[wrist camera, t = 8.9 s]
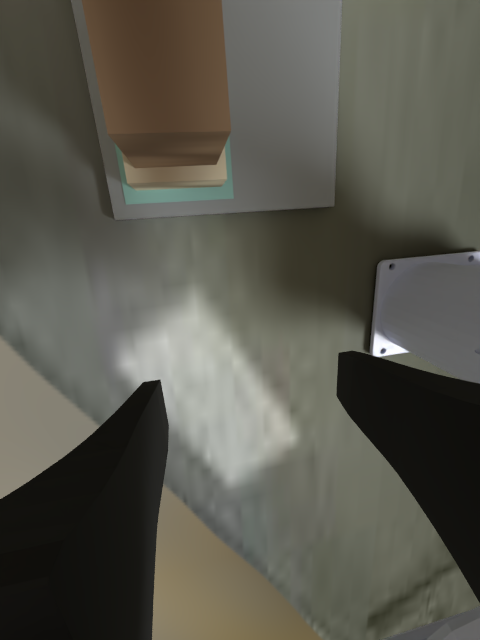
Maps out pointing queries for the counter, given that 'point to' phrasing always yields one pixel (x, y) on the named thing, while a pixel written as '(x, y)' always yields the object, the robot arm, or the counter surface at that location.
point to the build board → (254, 114)
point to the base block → (176, 176)
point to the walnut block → (162, 78)
